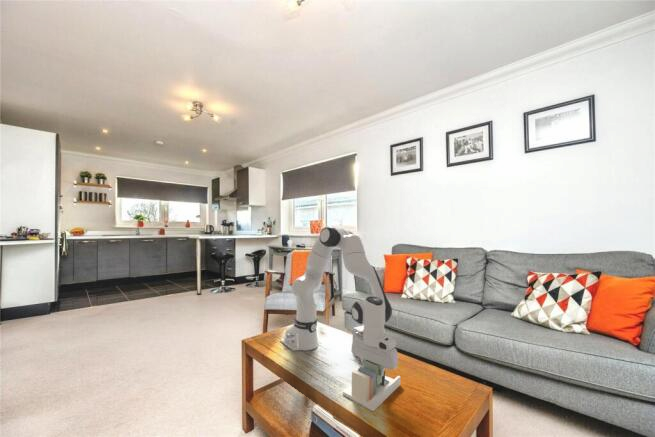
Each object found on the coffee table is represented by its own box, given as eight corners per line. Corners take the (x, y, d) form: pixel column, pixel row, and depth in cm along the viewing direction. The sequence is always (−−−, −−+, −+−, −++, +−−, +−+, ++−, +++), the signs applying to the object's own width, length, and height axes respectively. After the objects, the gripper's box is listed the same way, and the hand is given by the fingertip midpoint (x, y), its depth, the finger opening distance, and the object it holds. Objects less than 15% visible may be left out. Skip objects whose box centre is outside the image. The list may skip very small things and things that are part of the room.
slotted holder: (342, 394, 105) (343, 369, 106) (371, 372, 122) (372, 350, 122) (373, 411, 96) (374, 383, 96) (400, 385, 113) (400, 361, 113)
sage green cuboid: (364, 380, 110) (364, 360, 110) (369, 376, 113) (369, 357, 113) (376, 386, 106) (377, 365, 106) (381, 382, 109) (382, 362, 109)
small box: (359, 357, 136) (360, 331, 136) (351, 352, 141) (352, 327, 142) (371, 353, 140) (372, 328, 141) (363, 348, 146) (364, 324, 146)
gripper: (348, 333, 114) (348, 365, 114) (392, 348, 101) (392, 385, 100) (357, 329, 119) (356, 360, 118) (400, 342, 106) (399, 378, 105)
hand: (373, 372), depth 109 cm, fingers closed on sage green cuboid, 6 cm apart
